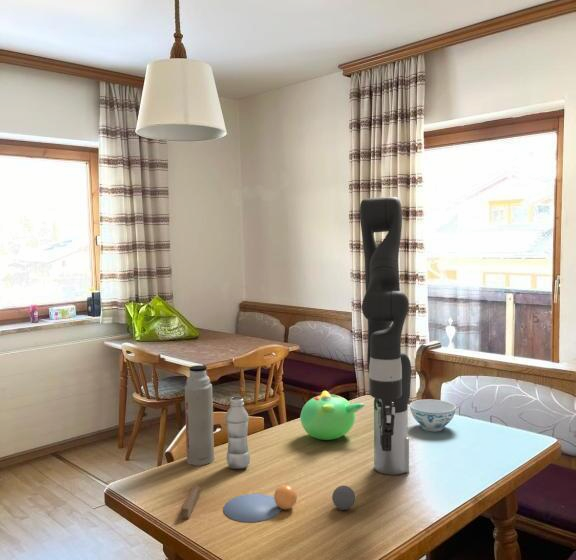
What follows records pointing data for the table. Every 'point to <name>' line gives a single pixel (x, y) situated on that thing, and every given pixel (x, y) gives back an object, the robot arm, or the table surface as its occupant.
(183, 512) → the walnut rail
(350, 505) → the charcoal ball
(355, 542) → the table surface
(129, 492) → the table surface
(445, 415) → the chinaware
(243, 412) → the plastic bottle
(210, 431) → the thermos bottle
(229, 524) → the table surface
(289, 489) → the orange ball
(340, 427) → the green bird toy
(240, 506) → the blue mark
